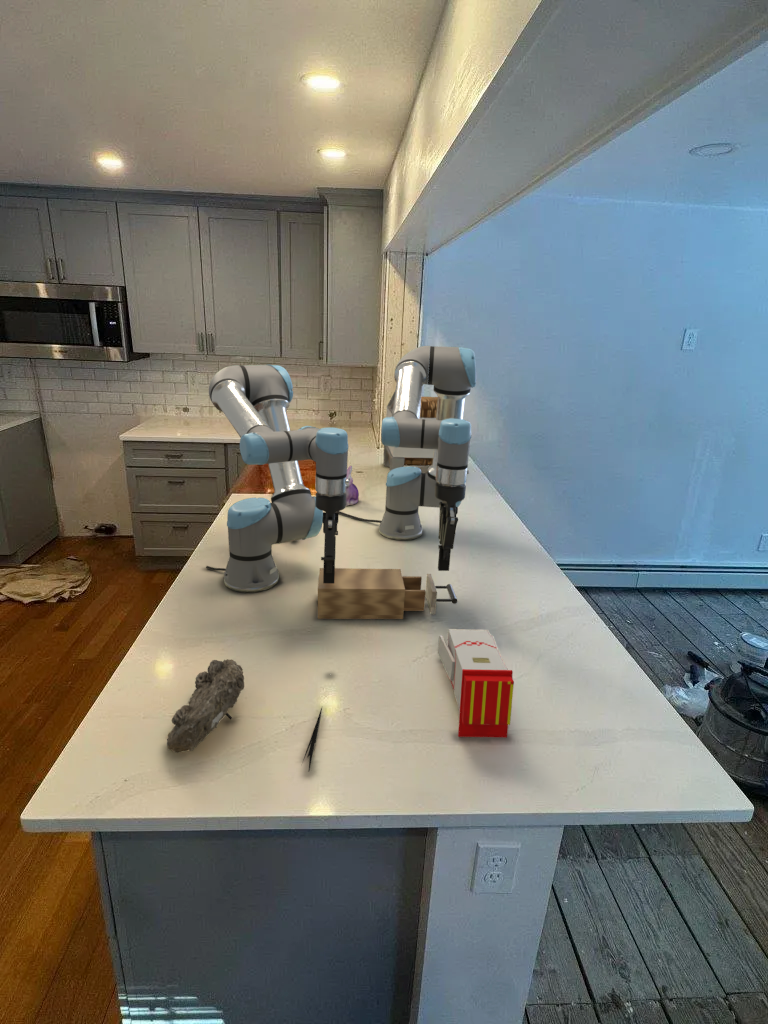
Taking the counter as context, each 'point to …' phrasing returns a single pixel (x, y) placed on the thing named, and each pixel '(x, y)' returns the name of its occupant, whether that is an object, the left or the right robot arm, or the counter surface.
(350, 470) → the figurine
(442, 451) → the right robot arm
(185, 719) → the fossil
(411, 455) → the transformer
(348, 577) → the cabinet
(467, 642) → the toy
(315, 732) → the feather
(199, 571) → the counter surface
